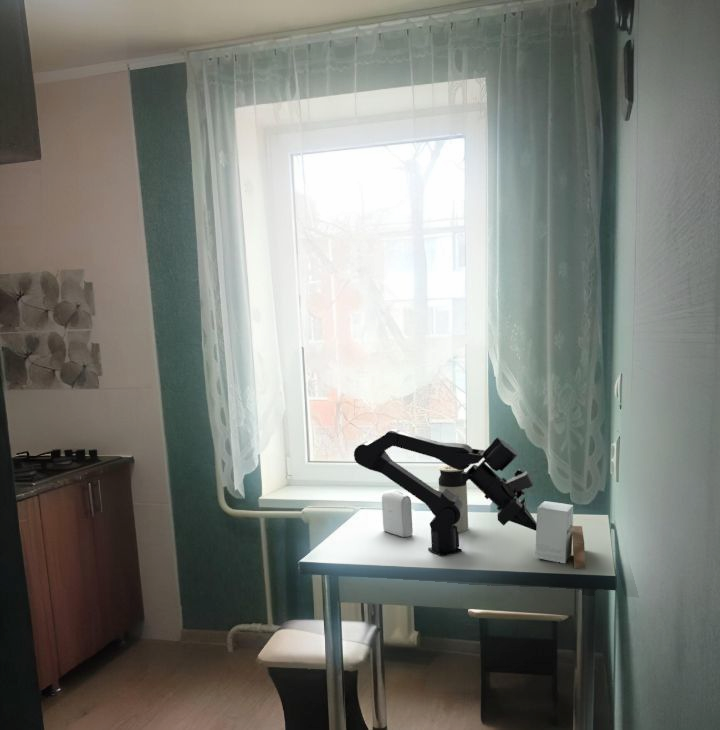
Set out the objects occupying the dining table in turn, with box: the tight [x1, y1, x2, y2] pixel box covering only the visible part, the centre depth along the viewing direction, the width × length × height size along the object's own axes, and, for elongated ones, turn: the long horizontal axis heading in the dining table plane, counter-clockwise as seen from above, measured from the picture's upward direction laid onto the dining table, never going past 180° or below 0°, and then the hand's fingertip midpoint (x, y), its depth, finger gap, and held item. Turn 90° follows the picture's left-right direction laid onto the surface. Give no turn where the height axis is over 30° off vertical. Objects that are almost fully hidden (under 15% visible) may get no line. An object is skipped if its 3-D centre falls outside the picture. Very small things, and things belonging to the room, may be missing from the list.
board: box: [572, 525, 586, 569], centre depth 150 cm, size 2×14×6 cm, turn 163°
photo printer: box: [381, 489, 414, 538], centre depth 178 cm, size 10×4×12 cm, turn 35°
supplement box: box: [534, 500, 574, 564], centre depth 152 cm, size 7×7×13 cm
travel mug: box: [438, 465, 469, 533], centre depth 179 cm, size 8×8×18 cm
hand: (537, 528), depth 153 cm, fingers closed
